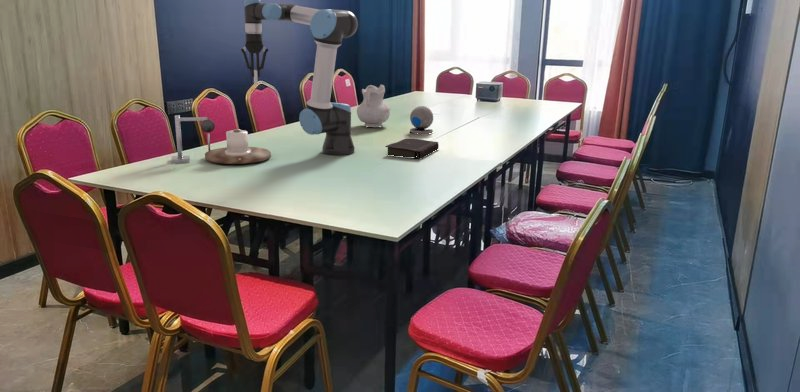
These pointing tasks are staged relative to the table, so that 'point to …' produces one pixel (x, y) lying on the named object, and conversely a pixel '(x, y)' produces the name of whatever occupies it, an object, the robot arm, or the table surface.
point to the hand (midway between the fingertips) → (255, 83)
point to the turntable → (220, 157)
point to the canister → (237, 143)
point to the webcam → (421, 120)
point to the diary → (412, 148)
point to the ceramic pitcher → (373, 107)
